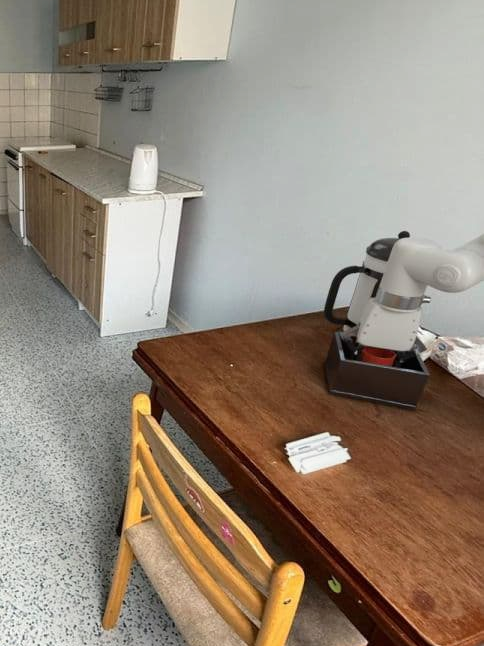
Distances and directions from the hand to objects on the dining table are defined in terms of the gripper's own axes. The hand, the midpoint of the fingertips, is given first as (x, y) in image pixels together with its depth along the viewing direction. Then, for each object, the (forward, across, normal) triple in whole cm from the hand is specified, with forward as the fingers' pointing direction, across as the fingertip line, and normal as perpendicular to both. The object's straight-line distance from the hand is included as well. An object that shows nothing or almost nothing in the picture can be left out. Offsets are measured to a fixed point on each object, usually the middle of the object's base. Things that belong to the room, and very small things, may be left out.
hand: (371, 370), depth 106 cm
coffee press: (+4, -2, -22) cm, 22 cm away
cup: (+3, 0, 0) cm, 3 cm away
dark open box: (+4, 0, 0) cm, 4 cm away
